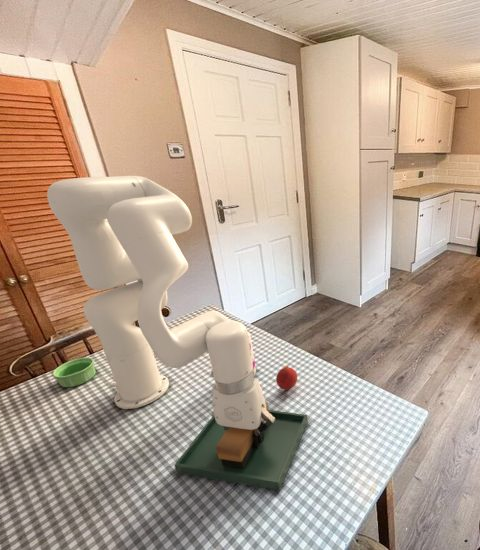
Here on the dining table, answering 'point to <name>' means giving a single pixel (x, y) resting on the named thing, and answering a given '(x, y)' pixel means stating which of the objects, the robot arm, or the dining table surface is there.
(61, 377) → the ramekin
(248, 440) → the tan wooden block
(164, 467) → the dining table surface
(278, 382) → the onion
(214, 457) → the tray
